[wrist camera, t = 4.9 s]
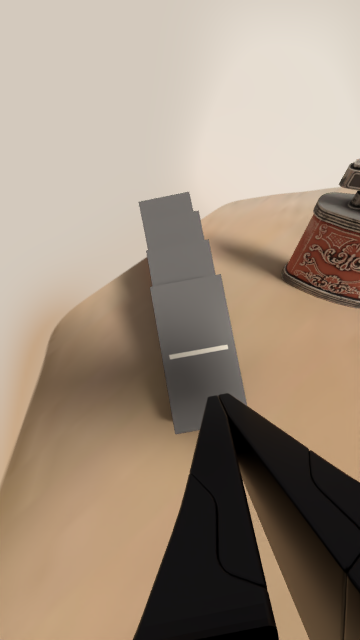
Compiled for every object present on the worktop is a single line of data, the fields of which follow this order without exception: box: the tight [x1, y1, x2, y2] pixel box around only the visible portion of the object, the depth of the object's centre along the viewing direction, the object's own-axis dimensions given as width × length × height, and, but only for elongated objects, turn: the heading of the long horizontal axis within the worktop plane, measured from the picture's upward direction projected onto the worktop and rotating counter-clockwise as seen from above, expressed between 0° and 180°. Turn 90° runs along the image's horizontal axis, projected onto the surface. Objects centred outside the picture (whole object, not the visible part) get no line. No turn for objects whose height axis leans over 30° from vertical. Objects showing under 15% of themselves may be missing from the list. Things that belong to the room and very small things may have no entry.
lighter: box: [281, 159, 360, 309], centre depth 15 cm, size 8×3×10 cm, turn 55°
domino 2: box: [143, 211, 204, 250], centre depth 17 cm, size 2×5×10 cm
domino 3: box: [146, 239, 215, 286], centre depth 15 cm, size 2×5×10 cm
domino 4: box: [150, 274, 247, 434], centre depth 14 cm, size 2×5×10 cm
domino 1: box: [139, 192, 193, 231], centre depth 19 cm, size 2×5×10 cm
